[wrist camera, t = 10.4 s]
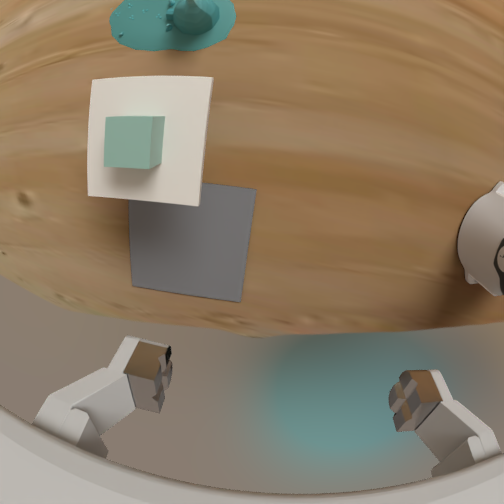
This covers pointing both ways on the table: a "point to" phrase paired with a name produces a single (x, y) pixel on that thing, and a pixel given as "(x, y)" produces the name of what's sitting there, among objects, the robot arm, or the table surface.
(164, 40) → the teal witch hat
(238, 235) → the rubber mat
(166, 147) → the cover sheet
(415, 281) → the table surface
